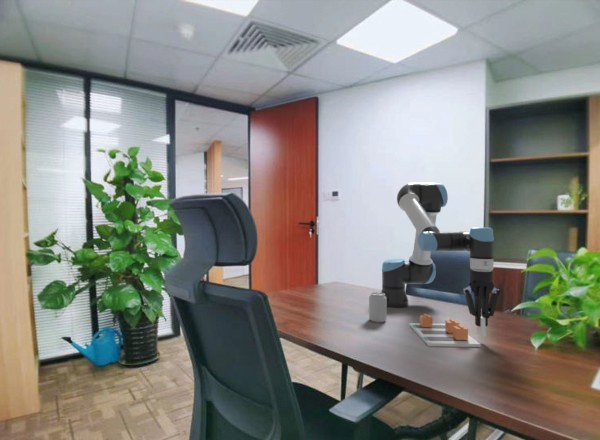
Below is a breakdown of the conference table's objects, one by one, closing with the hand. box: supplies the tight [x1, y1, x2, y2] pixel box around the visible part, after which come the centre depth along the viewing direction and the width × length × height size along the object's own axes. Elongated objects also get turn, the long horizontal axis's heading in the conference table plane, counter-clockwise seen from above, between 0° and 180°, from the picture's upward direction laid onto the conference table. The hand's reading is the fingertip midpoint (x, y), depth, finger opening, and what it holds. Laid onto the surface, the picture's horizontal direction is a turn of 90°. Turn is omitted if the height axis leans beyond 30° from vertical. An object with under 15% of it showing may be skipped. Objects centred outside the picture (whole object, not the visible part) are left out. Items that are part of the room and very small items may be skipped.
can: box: [368, 291, 388, 324], centre depth 148 cm, size 8×8×12 cm
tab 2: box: [444, 318, 460, 333], centre depth 129 cm, size 3×4×5 cm
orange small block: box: [419, 313, 433, 327], centre depth 136 cm, size 3×4×5 cm
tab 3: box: [453, 323, 469, 340], centre depth 122 cm, size 3×4×5 cm
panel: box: [409, 322, 481, 348], centre depth 129 cm, size 23×18×1 cm
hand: (481, 334), depth 122 cm, fingers closed
